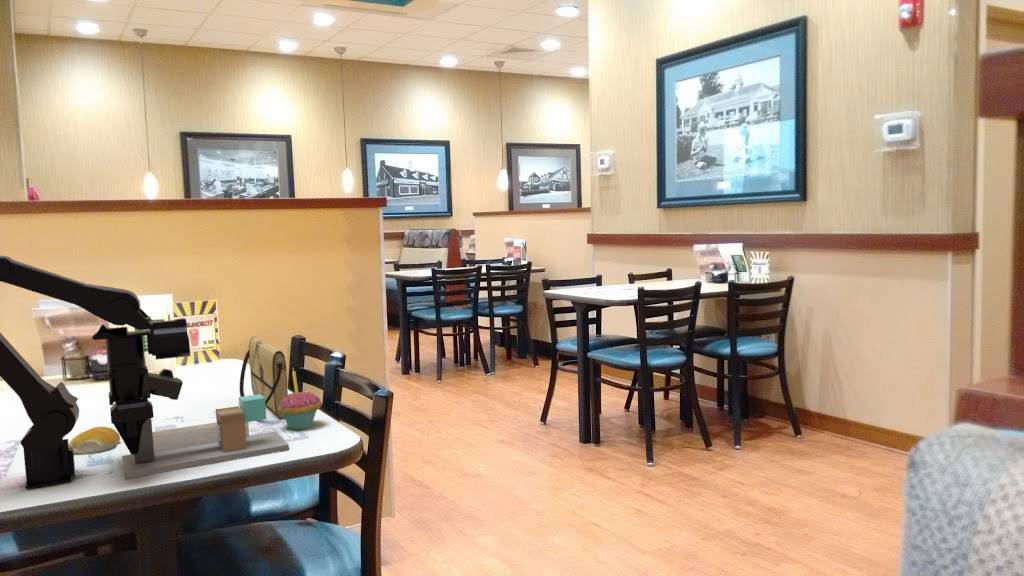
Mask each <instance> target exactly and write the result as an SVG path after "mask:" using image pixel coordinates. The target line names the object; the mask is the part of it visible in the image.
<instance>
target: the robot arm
mask: <svg viewBox="0 0 1024 576" xmlns="http://www.w3.org/2000/svg"><path fill="white" fill-rule="evenodd" d="M0 282H1V283H5V284H8V285H11V286H14V287H18V288H20V289H24V290H26V291H27V290H28V291H30V292H34V293H37V294H40V295H43V296H47V297H49V298H53V299H56V300H59V301H63V302H65V303H69V304H71V305H72V304H73V305H75V306H77V307H79V308H81V309H83V310H85V311H87V312H89V313H90V314H91V315H93V316H95V317H97V318H99V319H102V320H103V321H104V322H108V323H110V324H111V325H115V326H119V327H108V326H107V325H106V324H101V325H100V326H99V329H98V330H97V331H96V332H95V333H94V334H93V335H92V338H91V339H92V340H93V341H99V340H105V349H106V351H105V352H106V358H107V359H106V361H107V370H108V371H107V372H108V373H107V374H108V385H109V392H108V399H109V400H108V401H109V406H111V407H110V409H109V410H110V411H109V412H110V421H111V424H113V426H114V428H115V429H116V432H117V433H118V434H119V436H120V439H122V441H123V443H124V444H125V446H126V448H127V451H129V453H130V455H131V454H132V455H133V454H138V452H139V445H140V438H141V431H142V425H143V424H144V423H145V422H146V421H147V420H148V419H150V418H151V419H153V418H154V408H153V407H154V406H153V403H152V402H151V401H150V400H149V399H151V397H152V396H151V395H154V396H158V397H159V396H160V397H164V398H168V399H170V400H175V401H178V399H179V396H180V394H181V390H182V386H183V383H184V382H183V381H182V379H180V378H178V377H174V374H173V371H172V370H171V369H168V368H162V370H161V371H160V372H159V373H151V372H149V369H148V367H147V365H146V359H145V349H144V339H143V336H144V337H145V336H146V343H147V354H148V355H151V356H153V357H155V360H157V361H158V360H165V359H166V360H167V359H175V358H184V357H185V358H186V357H191V345H190V335H189V334H188V326H187V319H186V318H184V317H183V318H182V317H181V318H175V319H171V320H160V321H154V320H153V319H152V318H151V315H148V314H147V313H146V312H145V311H144V310H143V308H141V301H140V299H139V297H138V296H137V294H135V293H134V292H133V291H131V290H128V289H124V288H117V287H113V286H106V285H105V286H104V285H97V284H90V283H85V282H82V281H78V280H75V279H72V278H70V277H67V276H64V275H60V274H57V273H54V272H51V271H48V270H45V269H41V268H39V267H35V266H33V265H30V264H28V263H27V264H26V263H23V262H21V261H17V260H14V259H13V258H11V257H9V256H6V255H0ZM125 325H128V326H129V327H132V328H134V329H136V331H135V330H134V331H129V329H128V326H125ZM120 326H122V327H120ZM0 378H1V379H2V380H3V381H4V382H5V383H6V384H7V385H8V386H9V388H10V389H11V390H12V391H13V392H14V393H15V394H16V395H17V396H18V398H19V399H20V401H21V404H22V405H23V407H24V410H25V412H26V414H27V417H28V418H29V420H30V421H31V423H32V425H31V426H30V428H28V430H27V432H26V433H25V434H24V436H23V437H22V438H21V440H20V444H21V446H22V448H23V459H24V461H23V462H24V469H25V479H26V480H25V484H24V488H25V489H26V490H27V489H33V488H34V489H35V488H39V487H44V486H45V487H46V486H50V485H51V486H52V485H57V484H63V483H68V482H71V481H72V480H73V476H74V475H75V474H76V473H75V472H76V467H75V465H76V463H75V454H74V453H73V448H72V447H70V448H69V443H70V442H69V438H64V437H66V435H67V436H68V435H69V433H71V432H72V431H73V429H74V428H75V426H76V423H77V421H78V419H79V416H80V407H79V405H78V403H77V402H78V400H79V398H78V397H77V396H74V395H73V394H71V392H70V391H69V390H68V389H67V387H66V385H65V384H64V382H63V381H60V382H59V383H58V384H56V385H55V386H54V385H52V384H51V383H49V382H48V381H45V380H44V379H43V378H42V377H41V376H40V374H38V372H37V371H36V370H35V369H34V368H33V367H32V366H31V365H30V364H29V362H28V361H26V359H25V358H24V357H23V356H22V355H21V354H20V352H18V351H17V349H16V348H15V346H13V345H12V343H10V341H9V340H7V338H6V337H5V336H4V335H3V334H2V333H1V332H0Z"/></svg>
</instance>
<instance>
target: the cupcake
mask: <svg viewBox="0 0 1024 576" xmlns="http://www.w3.org/2000/svg"><path fill="white" fill-rule="evenodd" d="M291 375H292V381H293V387H294V392H291V393H288V395H287V396H285V397H284V398H283V399H282V400H281V401H280V403H279V409H278V410H279V412H281V413H282V414H283V416H284V418H283V419H285V423H286V424H287V427H288V429H291V430H303V429H309V428H311V427H313V423H314V419H315V416H316V413H317V410H319V409H321V407H322V401H321V398H319V396H318V395H316V394H314V393H313V392H312V393H311V392H309V391H308V392H306V391H299V389H298V382H297V372H296V371H295V369H294V367H292V372H291Z"/></svg>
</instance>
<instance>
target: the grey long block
mask: <svg viewBox="0 0 1024 576" xmlns="http://www.w3.org/2000/svg"><path fill="white" fill-rule="evenodd" d="M245 428H246V438H248V437H249V435H250V427H249V422H245ZM217 442H222V437H221V423H220V422H217V421H215V422H209V423H208V422H207V423H204V424H198V425H197V424H196V425H191V426H189V425H188V426H183V427H175V428H170V429H163V430H158V431H157V430H156V431H153V422H152V418H150V419H148V420H147V421H146V422H145V423H144V424H143V425H142V431H141V438H140V445H139V452H138V454H134V459H135V463H141V462H147V461H153V460H155V459H154V453H156V452H162V451H168V450H174V449H180V448H186V447H193V446H199V445H205V444H211V443H217Z"/></svg>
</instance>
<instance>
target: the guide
mask: <svg viewBox="0 0 1024 576" xmlns="http://www.w3.org/2000/svg"><path fill="white" fill-rule="evenodd" d="M215 416H216V422H220V423H221V437H222V442H217V443H211V444H205V445H199V446H193V447H186V448H180V449H174V450H168V451H162V452H156V453H154V459H155V460H153V461H147V462H141V463H135V459H134V454H133V455H132V454H131V453H130V454H126V455H122V456H121V461H122V467H123V476H124V479H130V478H137V477H141V476H146V475H147V476H148V475H152V474H153V475H154V474H159V473H163V472H170V471H175V470H176V471H177V470H181V469H187V468H192V467H198V466H199V467H200V466H205V465H212V464H216V463H222V462H228V461H234V460H238V459H237V458H240V459H243V458H242V457H245V458H249V457H248V456H251V457H256V456H255V455H257V456H261V454H263V455H266V454H267V453H268V454H272V452H274V453H278V451H280V452H284V451H283V450H285V451H289V449H290V445H289V444H288V442H287V441H286V439H284V438H283V437H282V436H281V435H280V434H279V433H278V432H277V431H276V430H274V431H268V432H262V433H261V432H260V433H256V434H249V437H248V438H246V428H245V413H244V412H243V411H242V410H241V409H240V408H239V405H238V406H230V407H223V408H216V409H215ZM233 459H234V460H233Z"/></svg>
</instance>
